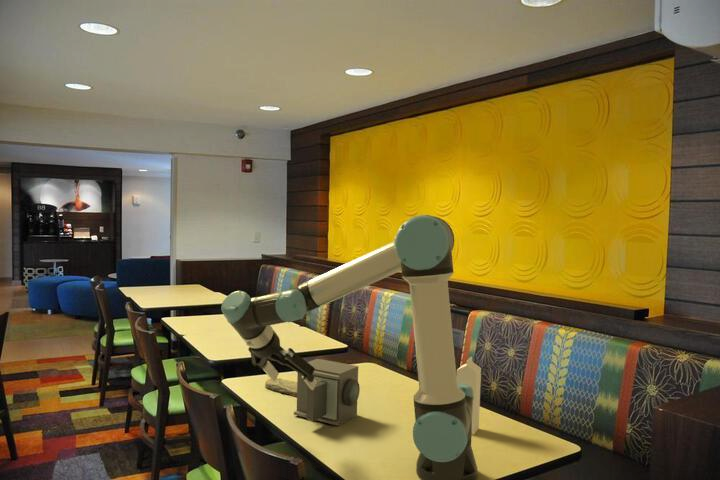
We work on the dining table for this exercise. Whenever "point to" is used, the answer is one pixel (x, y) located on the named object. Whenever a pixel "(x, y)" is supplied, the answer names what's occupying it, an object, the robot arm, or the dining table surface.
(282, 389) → the long grey stone
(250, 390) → the dining table surface
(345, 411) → the camera box
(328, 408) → the door
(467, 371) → the milk
